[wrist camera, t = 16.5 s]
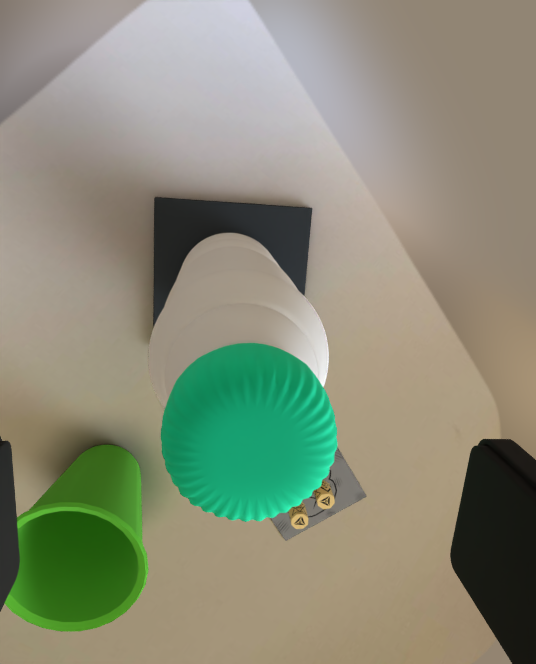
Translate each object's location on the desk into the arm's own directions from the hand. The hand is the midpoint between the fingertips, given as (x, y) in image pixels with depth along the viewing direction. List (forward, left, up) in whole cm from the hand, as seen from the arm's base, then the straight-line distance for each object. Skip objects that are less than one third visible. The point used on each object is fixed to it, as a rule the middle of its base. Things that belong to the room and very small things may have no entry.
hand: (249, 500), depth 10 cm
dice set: (+17, +7, -28) cm, 34 cm away
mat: (0, 0, -28) cm, 28 cm away
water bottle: (0, 0, -28) cm, 28 cm away
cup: (+16, -9, -28) cm, 34 cm away
